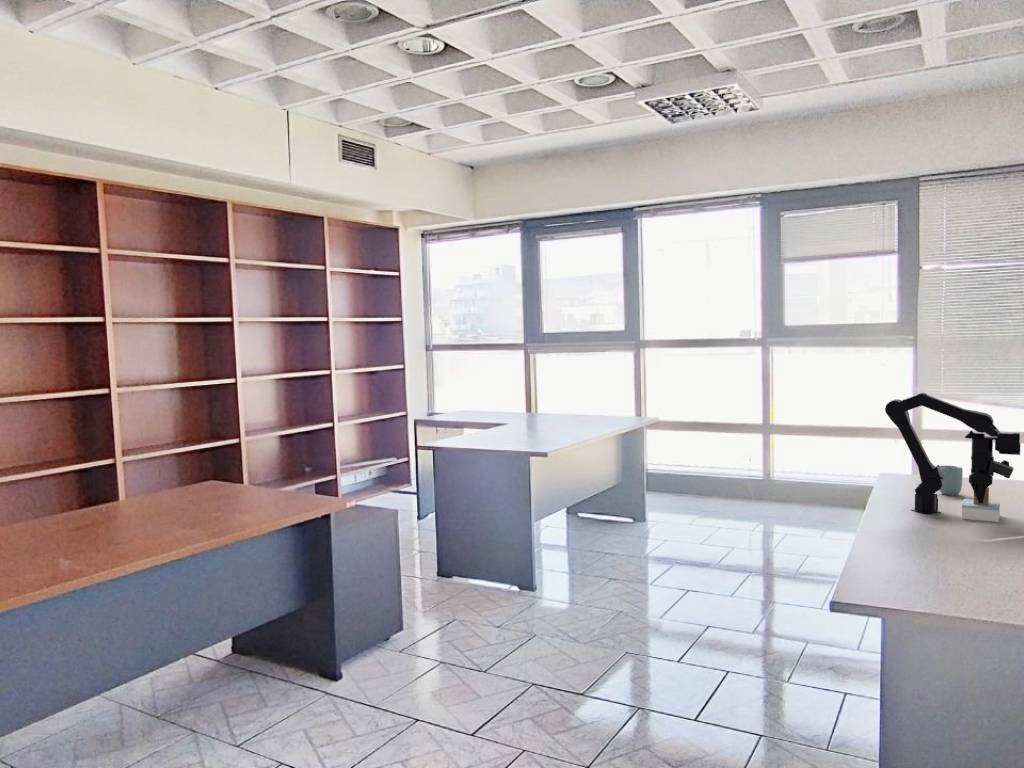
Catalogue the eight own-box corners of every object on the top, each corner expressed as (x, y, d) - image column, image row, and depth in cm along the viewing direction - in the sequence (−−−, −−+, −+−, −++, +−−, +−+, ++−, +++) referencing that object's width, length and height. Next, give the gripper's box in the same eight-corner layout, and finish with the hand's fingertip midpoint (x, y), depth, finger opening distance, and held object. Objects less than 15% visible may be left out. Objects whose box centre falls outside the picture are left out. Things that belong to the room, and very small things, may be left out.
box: (998, 523, 243) (999, 510, 243) (961, 519, 249) (962, 507, 248) (999, 516, 251) (999, 504, 251) (963, 513, 257) (963, 501, 257)
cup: (955, 492, 290) (956, 465, 289) (966, 496, 282) (966, 469, 281) (933, 492, 290) (934, 465, 290) (943, 496, 283) (943, 469, 282)
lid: (999, 510, 243) (999, 492, 242) (962, 507, 248) (962, 489, 248) (999, 504, 251) (1000, 486, 251) (963, 501, 257) (964, 483, 256)
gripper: (1011, 458, 236) (1010, 509, 237) (1012, 450, 252) (1011, 498, 253) (969, 456, 243) (968, 506, 244) (972, 448, 258) (971, 495, 259)
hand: (981, 501), depth 250 cm, fingers open, 5 cm apart
